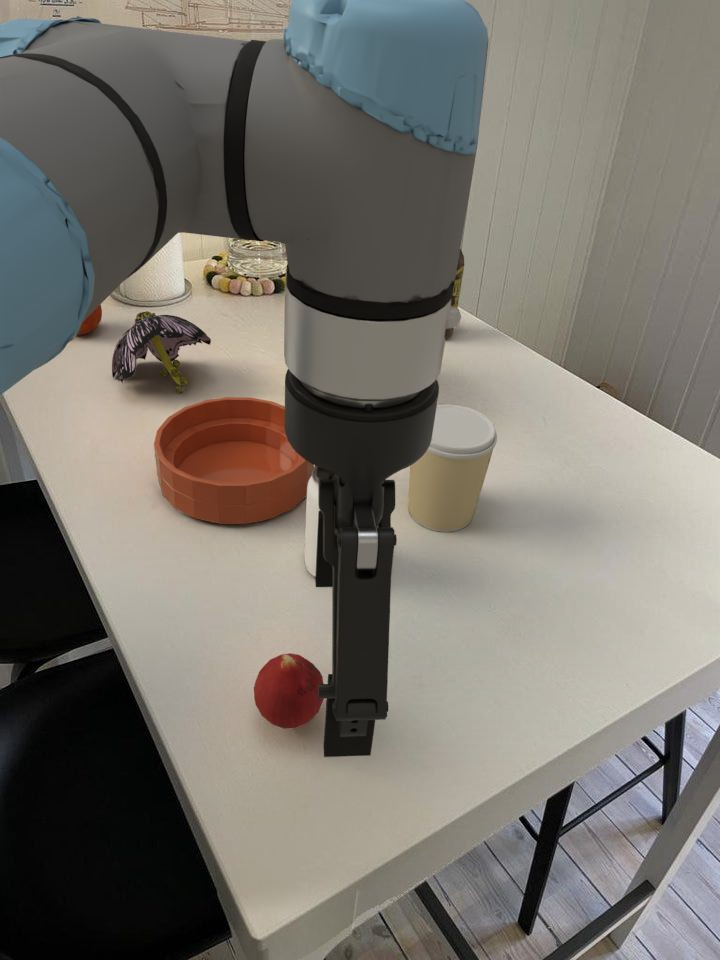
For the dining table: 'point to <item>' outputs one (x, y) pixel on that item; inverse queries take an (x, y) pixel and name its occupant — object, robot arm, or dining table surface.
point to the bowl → (230, 461)
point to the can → (312, 523)
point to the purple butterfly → (155, 344)
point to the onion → (288, 691)
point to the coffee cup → (451, 469)
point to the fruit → (91, 321)
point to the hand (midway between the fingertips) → (339, 658)
